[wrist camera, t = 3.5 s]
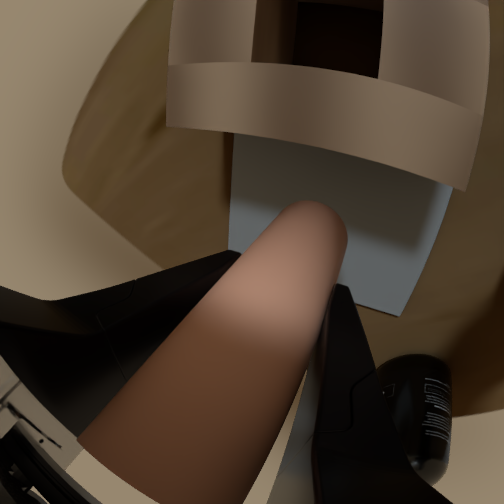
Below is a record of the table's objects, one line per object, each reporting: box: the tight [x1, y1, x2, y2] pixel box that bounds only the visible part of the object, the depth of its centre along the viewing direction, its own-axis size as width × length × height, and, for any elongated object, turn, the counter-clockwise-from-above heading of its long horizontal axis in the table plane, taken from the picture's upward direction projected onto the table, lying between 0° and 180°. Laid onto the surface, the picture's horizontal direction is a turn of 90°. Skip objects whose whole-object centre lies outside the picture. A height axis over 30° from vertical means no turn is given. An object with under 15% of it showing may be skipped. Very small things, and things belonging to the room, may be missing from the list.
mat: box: [228, 133, 453, 316], centre depth 15 cm, size 12×9×1 cm
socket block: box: [166, 0, 490, 192], centre depth 8 cm, size 12×10×5 cm
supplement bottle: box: [377, 354, 452, 486], centre depth 14 cm, size 7×7×12 cm
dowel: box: [76, 200, 348, 504], centre depth 7 cm, size 3×3×10 cm
